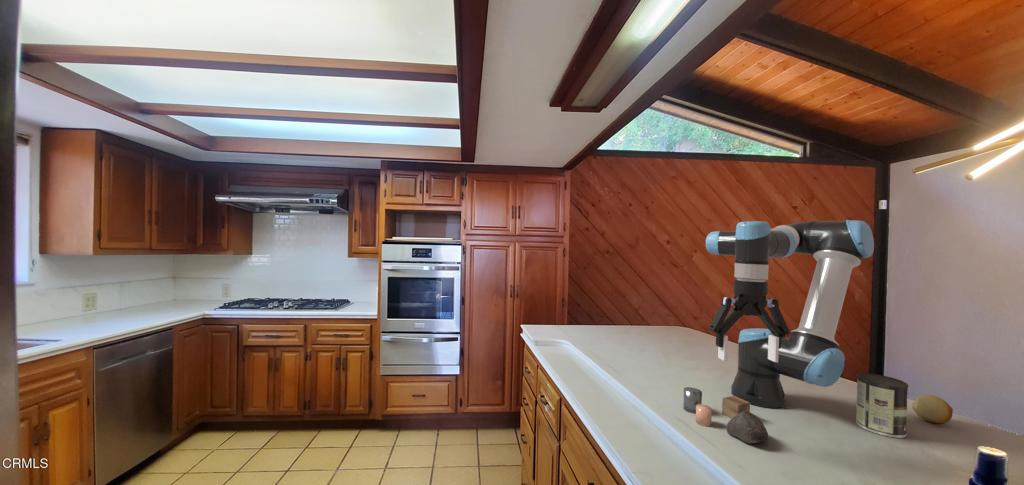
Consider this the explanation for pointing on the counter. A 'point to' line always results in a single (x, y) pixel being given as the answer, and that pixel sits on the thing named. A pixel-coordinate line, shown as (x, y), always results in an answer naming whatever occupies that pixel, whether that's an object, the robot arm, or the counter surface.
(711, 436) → the counter surface
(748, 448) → the counter surface
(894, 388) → the coffee can
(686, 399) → the metal tin
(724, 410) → the walnut block
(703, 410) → the peach rounded capsule
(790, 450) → the counter surface
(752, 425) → the stone
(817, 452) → the counter surface
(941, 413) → the fruit
